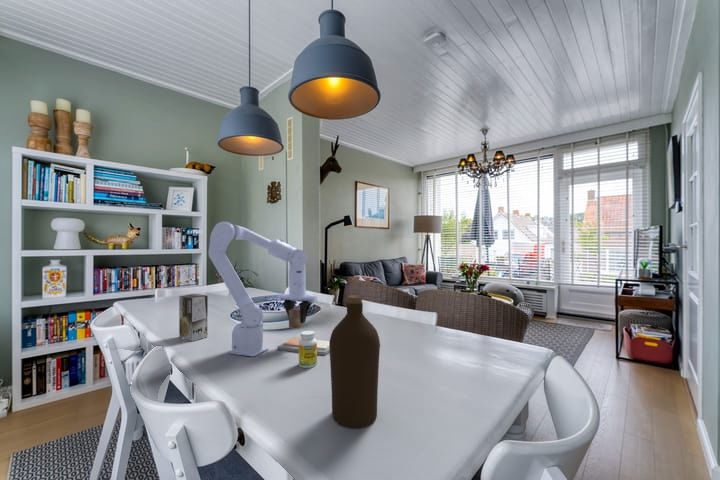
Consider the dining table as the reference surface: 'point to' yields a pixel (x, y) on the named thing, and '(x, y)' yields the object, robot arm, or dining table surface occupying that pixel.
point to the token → (295, 318)
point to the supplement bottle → (307, 350)
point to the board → (294, 346)
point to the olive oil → (354, 368)
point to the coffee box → (193, 316)
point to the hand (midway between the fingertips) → (297, 321)
